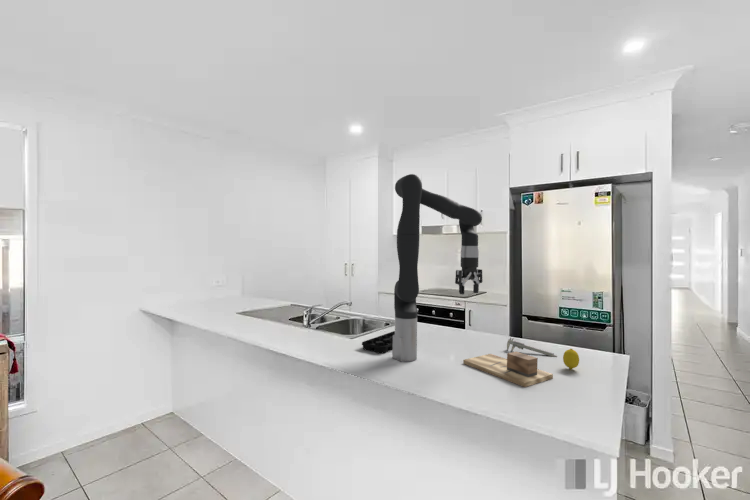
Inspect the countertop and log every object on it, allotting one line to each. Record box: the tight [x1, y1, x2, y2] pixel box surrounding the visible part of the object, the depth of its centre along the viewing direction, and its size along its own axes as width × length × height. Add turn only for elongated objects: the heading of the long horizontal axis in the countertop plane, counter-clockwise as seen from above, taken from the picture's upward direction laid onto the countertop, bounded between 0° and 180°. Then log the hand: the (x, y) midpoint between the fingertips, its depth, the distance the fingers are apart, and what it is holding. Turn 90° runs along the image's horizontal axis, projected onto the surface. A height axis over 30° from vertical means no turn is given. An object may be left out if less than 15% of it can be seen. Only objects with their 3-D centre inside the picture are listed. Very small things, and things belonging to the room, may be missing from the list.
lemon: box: [562, 348, 580, 370], centre depth 142 cm, size 6×6×8 cm
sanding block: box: [506, 351, 538, 377], centre depth 134 cm, size 9×5×6 cm, turn 32°
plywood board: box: [462, 353, 554, 388], centre depth 140 cm, size 16×28×2 cm, turn 32°
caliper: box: [506, 337, 558, 358], centre depth 163 cm, size 20×1×6 cm, turn 64°
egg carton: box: [361, 330, 395, 355], centre depth 173 cm, size 18×30×4 cm, turn 156°
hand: (468, 293), depth 161 cm, fingers open, 8 cm apart
